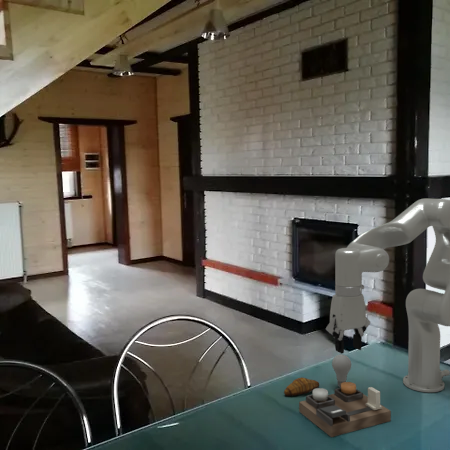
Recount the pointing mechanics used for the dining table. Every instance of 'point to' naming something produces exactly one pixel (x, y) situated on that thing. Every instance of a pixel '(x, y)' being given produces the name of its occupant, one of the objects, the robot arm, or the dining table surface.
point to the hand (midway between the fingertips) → (348, 349)
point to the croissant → (301, 387)
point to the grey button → (320, 394)
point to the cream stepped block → (373, 399)
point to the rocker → (333, 411)
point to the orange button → (348, 387)
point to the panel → (352, 421)
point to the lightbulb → (341, 367)
